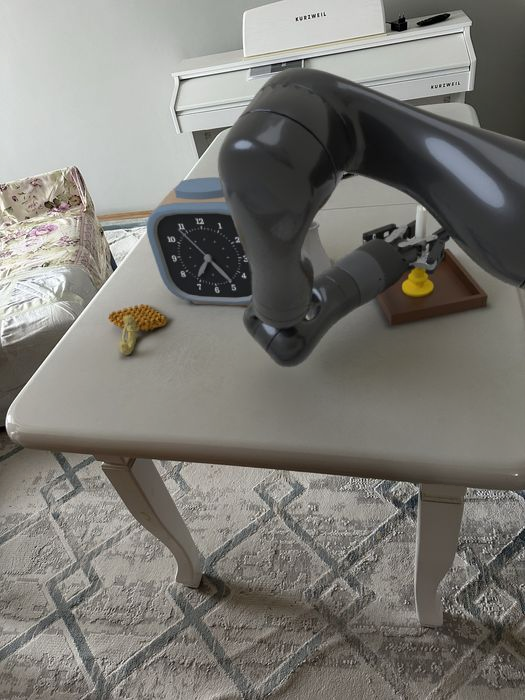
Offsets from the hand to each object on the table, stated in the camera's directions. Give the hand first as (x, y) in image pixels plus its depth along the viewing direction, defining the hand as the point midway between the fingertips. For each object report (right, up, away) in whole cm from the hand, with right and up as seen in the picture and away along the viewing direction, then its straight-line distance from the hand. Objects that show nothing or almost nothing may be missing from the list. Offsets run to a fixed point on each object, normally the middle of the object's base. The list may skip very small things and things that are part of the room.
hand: (434, 227), depth 83 cm
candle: (-1, -9, +6) cm, 11 cm away
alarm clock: (-34, -9, +15) cm, 38 cm away
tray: (0, -10, +6) cm, 11 cm away
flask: (-18, -5, +16) cm, 24 cm away
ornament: (-50, -17, +9) cm, 54 cm away
